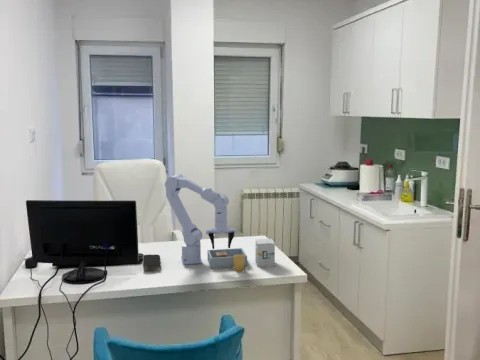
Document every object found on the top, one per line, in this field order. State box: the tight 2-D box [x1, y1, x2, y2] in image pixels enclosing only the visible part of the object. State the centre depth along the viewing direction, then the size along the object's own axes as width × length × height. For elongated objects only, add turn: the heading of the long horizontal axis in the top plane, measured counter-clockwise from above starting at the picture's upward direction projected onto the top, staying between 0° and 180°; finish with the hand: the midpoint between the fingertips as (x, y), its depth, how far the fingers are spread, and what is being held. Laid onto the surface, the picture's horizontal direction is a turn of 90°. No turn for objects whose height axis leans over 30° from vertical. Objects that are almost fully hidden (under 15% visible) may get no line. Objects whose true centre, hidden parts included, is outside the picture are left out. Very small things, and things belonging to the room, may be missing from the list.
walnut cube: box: [216, 252, 227, 257], centre depth 237 cm, size 5×5×5 cm
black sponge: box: [142, 254, 162, 272], centre depth 235 cm, size 16×8×4 cm, turn 11°
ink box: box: [255, 238, 276, 268], centre depth 237 cm, size 8×8×12 cm
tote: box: [206, 247, 248, 269], centre depth 240 cm, size 18×14×5 cm
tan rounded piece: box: [233, 254, 245, 273], centre depth 229 cm, size 5×5×7 cm
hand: (221, 247), depth 236 cm, fingers open, 7 cm apart
